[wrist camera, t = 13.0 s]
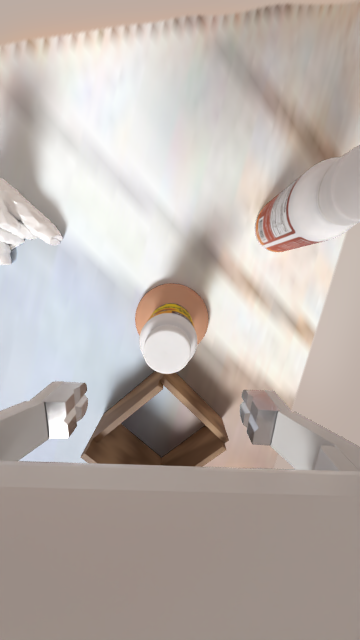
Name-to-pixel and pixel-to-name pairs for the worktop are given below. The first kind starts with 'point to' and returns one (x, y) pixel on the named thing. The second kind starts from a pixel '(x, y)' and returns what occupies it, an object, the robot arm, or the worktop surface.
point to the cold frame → (125, 448)
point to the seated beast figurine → (6, 222)
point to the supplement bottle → (168, 339)
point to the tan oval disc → (177, 296)
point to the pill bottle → (313, 206)
